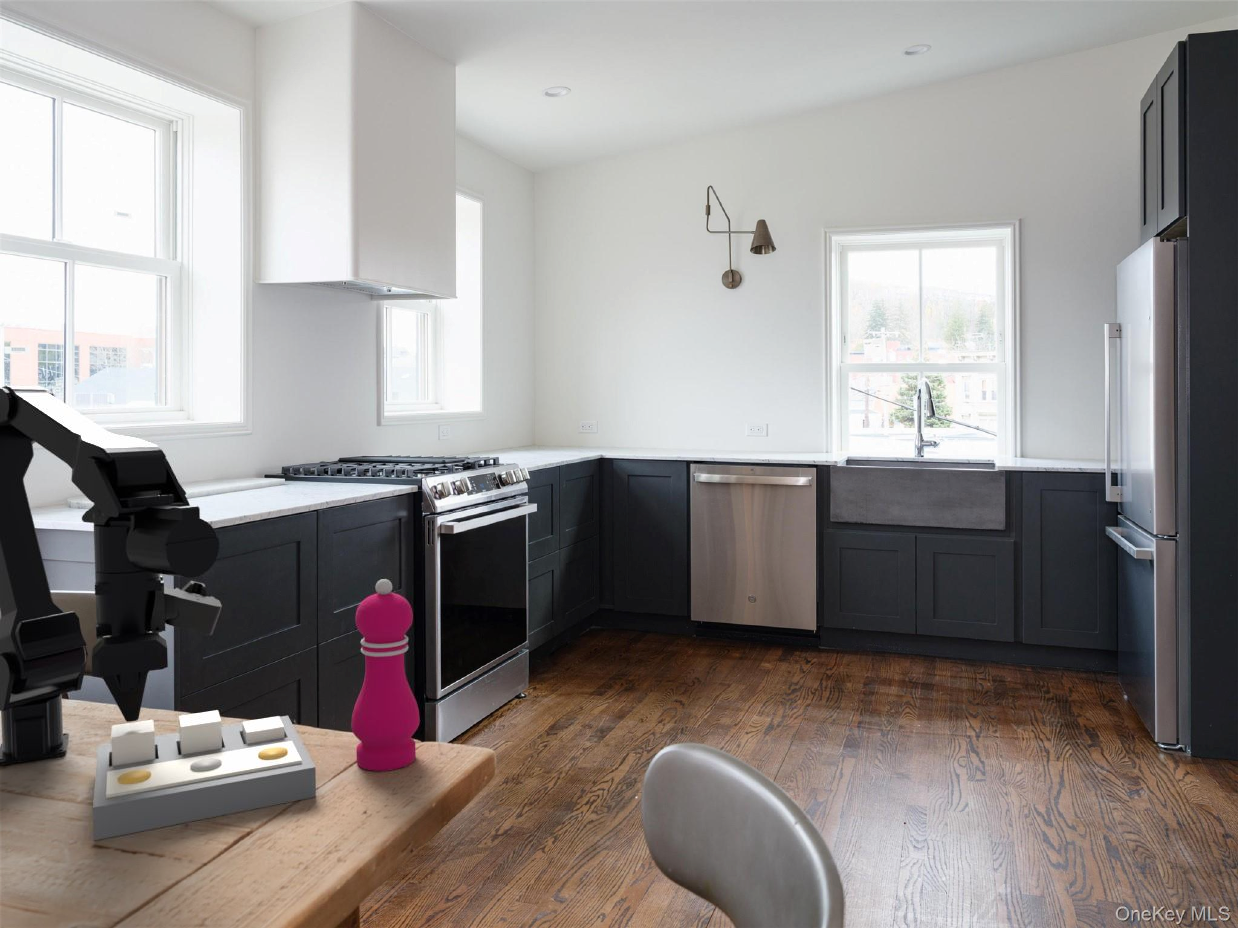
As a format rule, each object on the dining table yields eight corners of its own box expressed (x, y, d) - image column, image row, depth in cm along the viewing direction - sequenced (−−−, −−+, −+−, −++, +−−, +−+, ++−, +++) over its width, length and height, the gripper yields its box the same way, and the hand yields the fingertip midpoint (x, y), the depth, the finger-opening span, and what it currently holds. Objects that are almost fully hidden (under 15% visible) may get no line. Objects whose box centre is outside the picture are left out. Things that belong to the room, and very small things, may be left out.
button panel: (98, 772, 95) (97, 739, 95) (288, 740, 104) (287, 711, 104) (94, 840, 80) (92, 802, 80) (315, 796, 89) (315, 762, 89)
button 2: (242, 750, 99) (242, 721, 99) (279, 743, 101) (278, 715, 100) (247, 762, 95) (246, 732, 95) (284, 755, 97) (284, 726, 97)
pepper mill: (402, 775, 94) (400, 587, 93) (339, 770, 96) (336, 584, 94) (430, 750, 101) (428, 574, 100) (371, 745, 103) (368, 571, 102)
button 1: (112, 755, 93) (111, 725, 93) (154, 749, 95) (153, 719, 94) (112, 768, 89) (111, 737, 89) (155, 761, 91) (154, 730, 91)
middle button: (179, 745, 96) (178, 715, 96) (218, 738, 98) (217, 710, 97) (181, 757, 92) (180, 726, 92) (221, 750, 94) (221, 720, 94)
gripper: (223, 577, 86) (227, 736, 87) (207, 549, 103) (211, 683, 104) (89, 587, 81) (94, 757, 82) (95, 557, 97) (99, 698, 98)
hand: (132, 720), depth 92 cm, fingers closed
